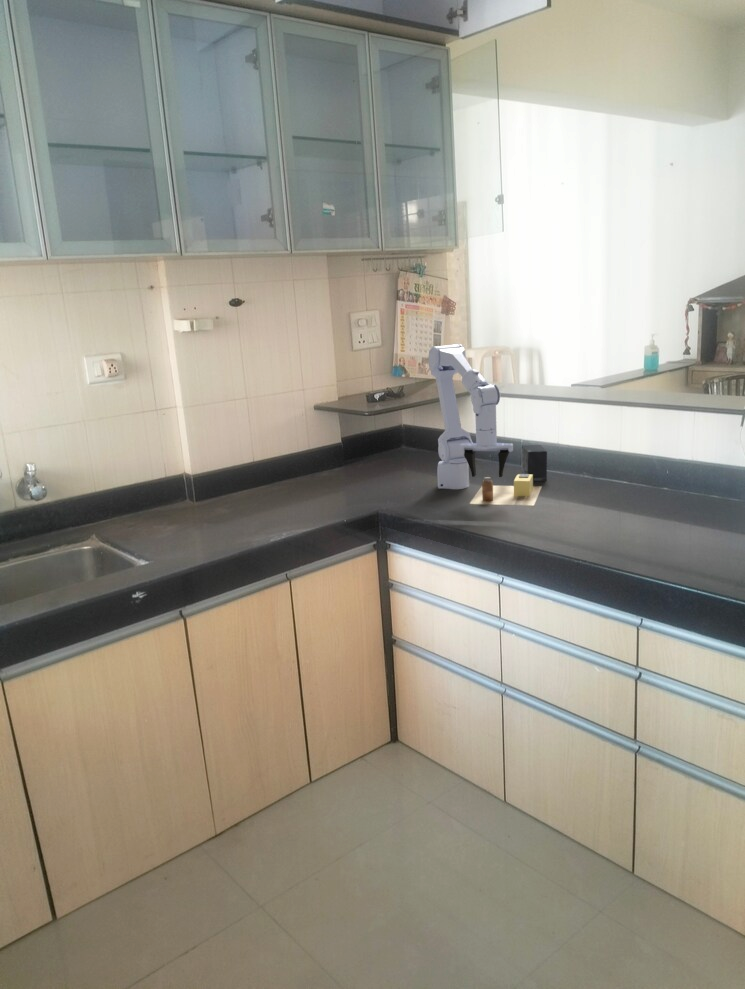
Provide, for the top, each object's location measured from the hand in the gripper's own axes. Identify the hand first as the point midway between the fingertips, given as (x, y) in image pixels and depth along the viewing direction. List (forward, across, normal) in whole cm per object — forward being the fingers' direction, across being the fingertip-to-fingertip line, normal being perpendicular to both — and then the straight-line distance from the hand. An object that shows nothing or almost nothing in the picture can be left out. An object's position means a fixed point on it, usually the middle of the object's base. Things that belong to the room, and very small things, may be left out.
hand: (487, 476), depth 214 cm
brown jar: (+7, 0, 0) cm, 7 cm away
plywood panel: (+8, +4, +6) cm, 11 cm away
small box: (+8, +10, +28) cm, 31 cm away
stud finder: (+7, +9, +9) cm, 15 cm away
